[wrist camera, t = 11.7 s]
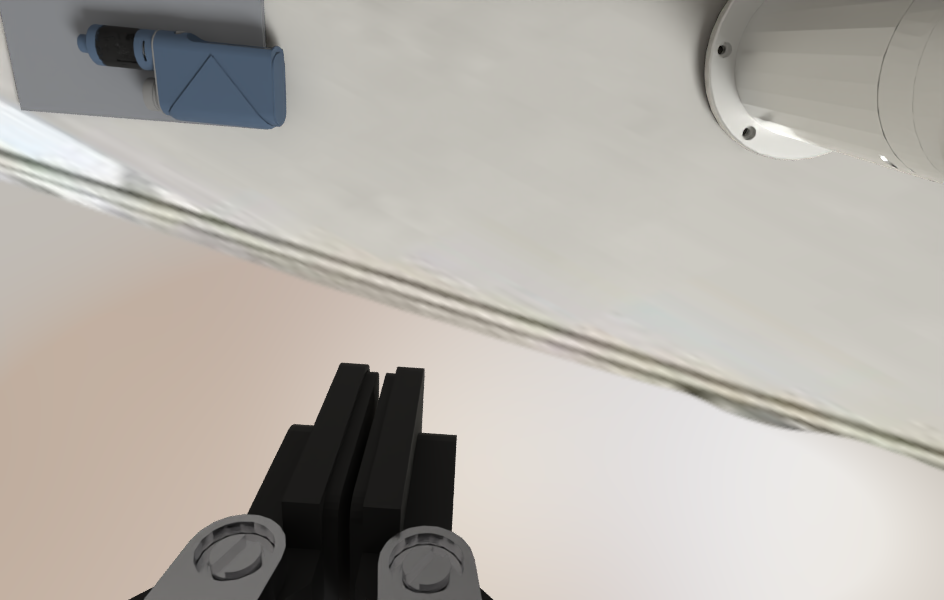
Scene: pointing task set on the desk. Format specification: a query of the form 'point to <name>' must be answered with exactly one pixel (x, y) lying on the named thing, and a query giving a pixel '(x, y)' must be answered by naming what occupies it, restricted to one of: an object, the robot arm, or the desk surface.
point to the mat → (120, 89)
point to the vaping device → (196, 74)
